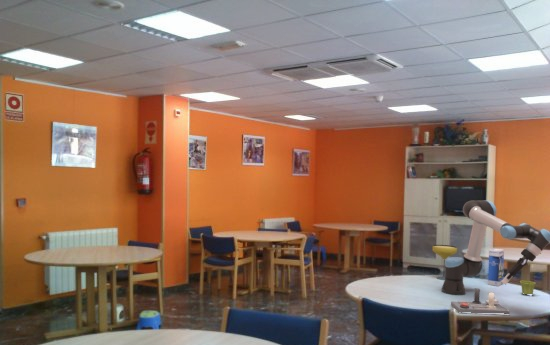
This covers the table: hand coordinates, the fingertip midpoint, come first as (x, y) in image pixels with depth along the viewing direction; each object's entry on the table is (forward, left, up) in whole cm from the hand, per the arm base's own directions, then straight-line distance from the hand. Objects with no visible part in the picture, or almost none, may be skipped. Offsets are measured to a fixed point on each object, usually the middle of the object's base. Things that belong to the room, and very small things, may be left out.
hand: (503, 283), depth 276 cm
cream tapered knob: (-5, -5, -15) cm, 16 cm away
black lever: (-14, -1, -15) cm, 20 cm away
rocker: (-7, +4, -13) cm, 16 cm away
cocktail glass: (-58, +71, -18) cm, 93 cm away
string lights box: (-23, +81, -18) cm, 86 cm away
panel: (-12, -4, -17) cm, 21 cm away
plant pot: (+2, +61, -18) cm, 63 cm away
